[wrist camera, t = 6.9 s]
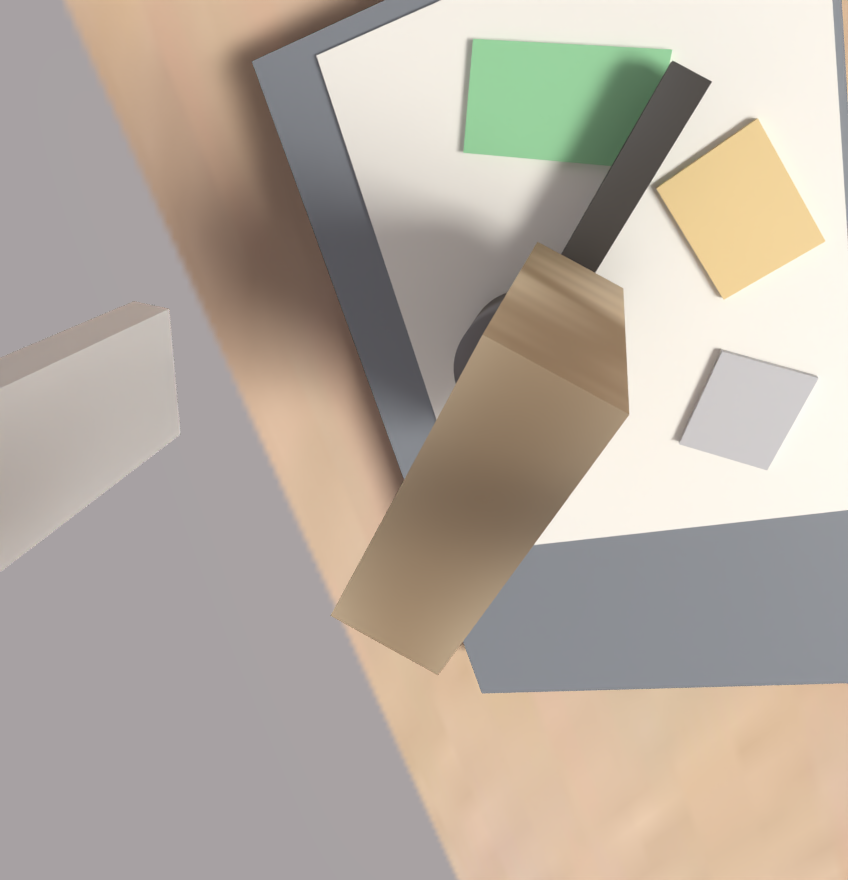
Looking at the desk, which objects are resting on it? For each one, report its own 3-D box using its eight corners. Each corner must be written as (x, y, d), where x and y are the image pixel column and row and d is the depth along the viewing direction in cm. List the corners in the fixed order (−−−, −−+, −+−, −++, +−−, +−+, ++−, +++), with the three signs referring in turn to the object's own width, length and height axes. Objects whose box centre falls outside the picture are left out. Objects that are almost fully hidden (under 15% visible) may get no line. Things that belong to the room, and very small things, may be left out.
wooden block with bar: (430, 404, 19) (305, 602, 12) (622, 39, 14) (631, -48, 6) (523, 456, 19) (462, 688, 12) (751, 108, 14) (918, 106, 6)
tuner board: (286, 66, 18) (244, 60, 16) (802, -165, 14) (835, -213, 12) (490, 655, 26) (480, 700, 24) (860, 636, 22) (886, 691, 20)
